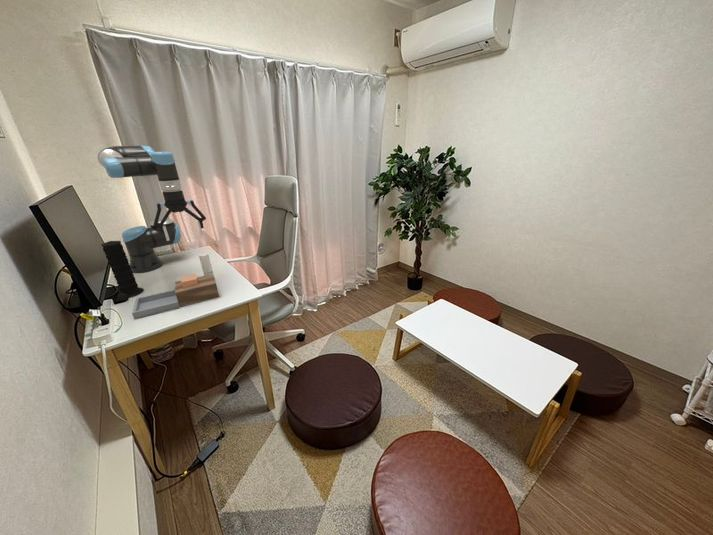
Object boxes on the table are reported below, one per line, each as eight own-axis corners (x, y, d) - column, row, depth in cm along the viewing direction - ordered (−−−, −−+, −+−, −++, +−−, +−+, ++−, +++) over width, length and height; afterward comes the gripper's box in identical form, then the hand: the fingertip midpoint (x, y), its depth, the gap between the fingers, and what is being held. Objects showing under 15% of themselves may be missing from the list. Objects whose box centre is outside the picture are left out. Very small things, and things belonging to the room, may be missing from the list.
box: (138, 303, 123) (135, 298, 122) (179, 294, 131) (177, 288, 129) (134, 319, 112) (131, 313, 111) (179, 307, 120) (177, 302, 118)
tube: (206, 284, 140) (199, 256, 134) (205, 281, 143) (198, 254, 137) (215, 281, 142) (209, 254, 136) (214, 278, 145) (207, 252, 139)
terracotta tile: (182, 283, 126) (181, 277, 125) (197, 279, 129) (196, 274, 127) (183, 288, 121) (181, 282, 120) (198, 284, 124) (196, 278, 123)
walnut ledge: (179, 295, 130) (175, 282, 127) (216, 286, 137) (213, 274, 134) (179, 306, 120) (175, 293, 117) (219, 297, 128) (216, 283, 125)
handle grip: (132, 298, 127) (149, 288, 136) (110, 245, 116) (130, 237, 125) (112, 298, 128) (130, 287, 137) (88, 244, 117) (110, 237, 126)
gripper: (135, 194, 110) (152, 244, 119) (204, 189, 121) (215, 235, 129) (138, 191, 116) (154, 239, 125) (204, 187, 127) (214, 231, 135)
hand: (185, 237), depth 127 cm, fingers open, 13 cm apart
